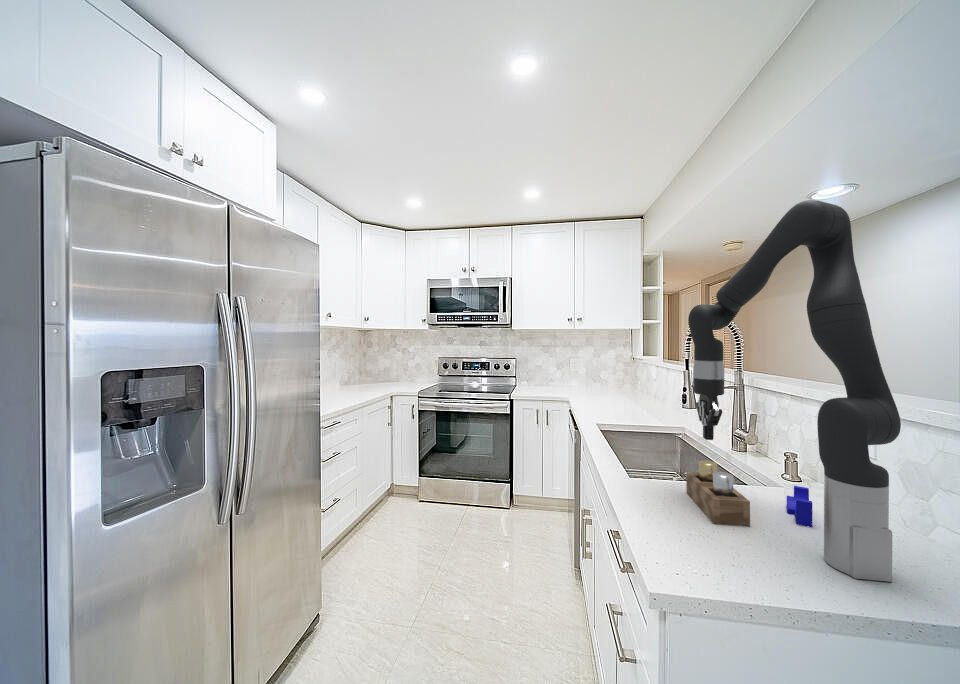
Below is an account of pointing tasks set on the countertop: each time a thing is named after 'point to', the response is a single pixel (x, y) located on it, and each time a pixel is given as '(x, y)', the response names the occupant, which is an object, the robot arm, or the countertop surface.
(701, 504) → the wooden peg holder
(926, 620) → the countertop surface
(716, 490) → the steel peg
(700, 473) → the brass peg
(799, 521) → the blue block piece
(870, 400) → the robot arm
